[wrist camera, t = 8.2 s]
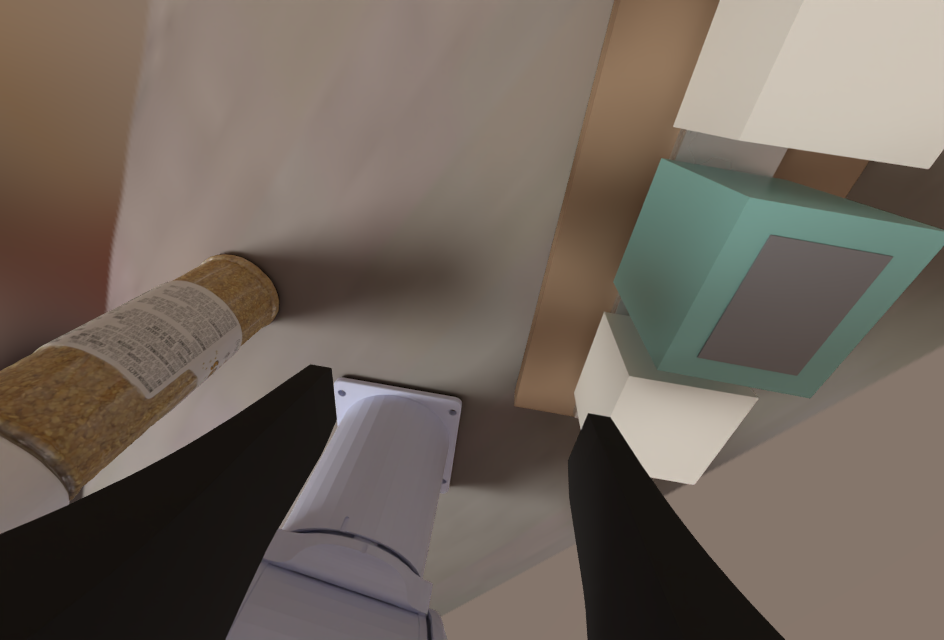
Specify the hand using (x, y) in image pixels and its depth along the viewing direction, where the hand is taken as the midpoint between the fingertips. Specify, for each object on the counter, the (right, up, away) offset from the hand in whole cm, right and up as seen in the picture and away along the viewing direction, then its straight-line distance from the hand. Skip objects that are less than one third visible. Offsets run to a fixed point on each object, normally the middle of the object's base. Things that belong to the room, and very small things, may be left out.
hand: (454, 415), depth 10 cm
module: (+9, +6, +4) cm, 12 cm away
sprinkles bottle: (-12, +5, +10) cm, 17 cm away
